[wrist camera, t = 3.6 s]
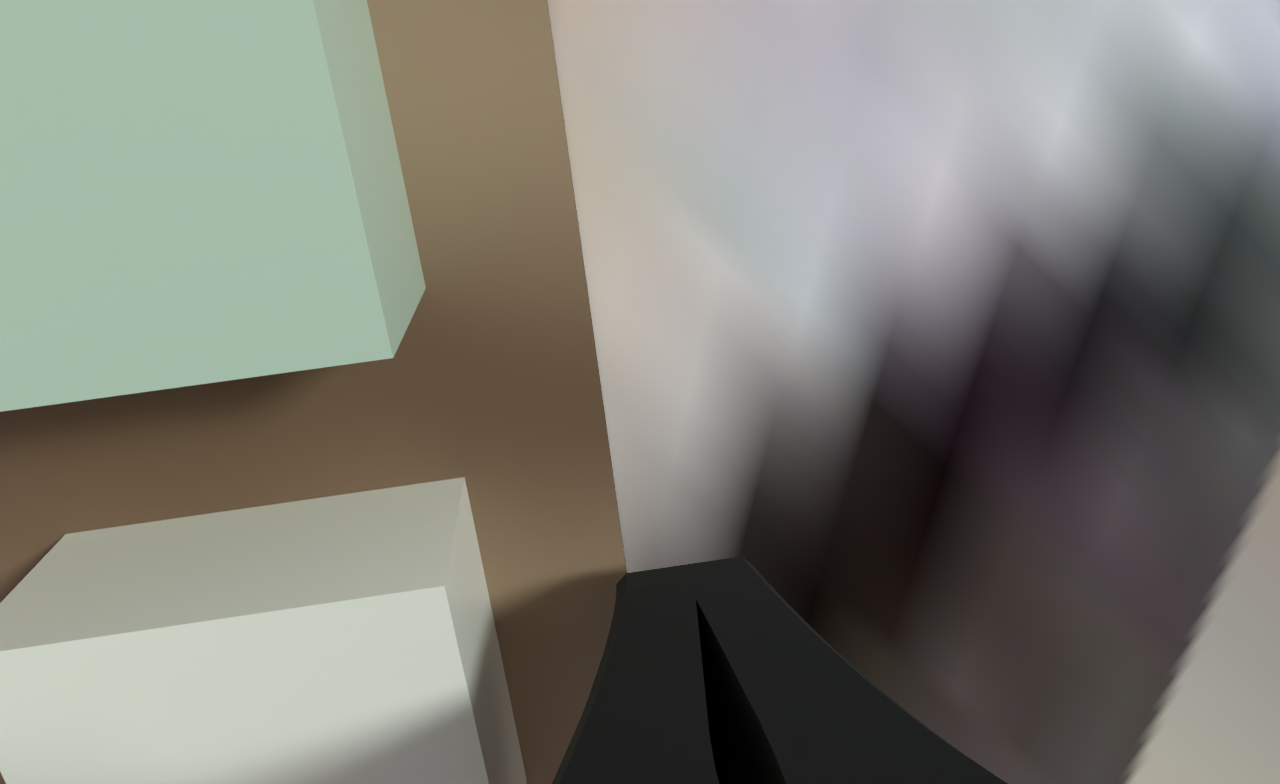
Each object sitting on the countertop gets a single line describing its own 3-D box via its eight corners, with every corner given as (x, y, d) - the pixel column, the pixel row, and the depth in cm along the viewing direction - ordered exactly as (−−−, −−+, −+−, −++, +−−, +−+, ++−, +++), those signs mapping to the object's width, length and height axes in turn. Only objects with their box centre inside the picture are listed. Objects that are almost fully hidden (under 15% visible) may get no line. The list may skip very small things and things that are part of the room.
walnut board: (649, 739, 14) (665, 853, 12) (13, 838, 13) (-75, 972, 11) (514, -235, 9) (506, -303, 7) (-455, -129, 9) (-726, -170, 7)
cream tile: (526, 778, 11) (521, 931, 9) (183, 832, 11) (108, 998, 9) (464, 477, 10) (444, 587, 8) (64, 534, 9) (-53, 658, 8)
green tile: (426, 288, 9) (393, 358, 7) (-8, 345, 9) (-161, 433, 7) (325, -205, 7) (247, -283, 5) (-201, -146, 7) (-463, -207, 5)
